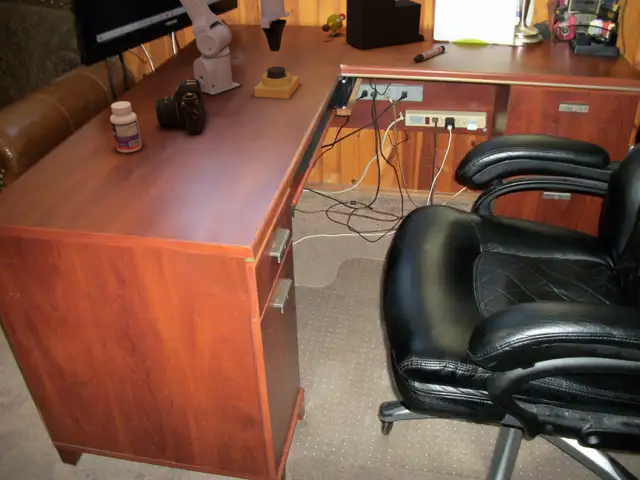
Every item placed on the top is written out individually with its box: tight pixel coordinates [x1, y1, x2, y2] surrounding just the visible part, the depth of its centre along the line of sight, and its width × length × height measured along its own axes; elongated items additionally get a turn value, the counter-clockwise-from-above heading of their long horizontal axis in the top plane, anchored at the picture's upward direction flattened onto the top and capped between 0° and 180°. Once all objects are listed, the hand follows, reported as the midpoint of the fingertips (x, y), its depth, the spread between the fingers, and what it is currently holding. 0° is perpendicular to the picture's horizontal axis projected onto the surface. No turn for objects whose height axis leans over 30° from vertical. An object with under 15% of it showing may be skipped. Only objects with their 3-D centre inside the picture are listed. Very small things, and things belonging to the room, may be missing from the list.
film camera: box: [154, 77, 205, 135], centre depth 141 cm, size 18×12×10 cm
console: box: [253, 71, 300, 99], centre depth 161 cm, size 11×9×4 cm
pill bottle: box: [110, 100, 143, 153], centre depth 130 cm, size 5×5×10 cm
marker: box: [413, 45, 446, 63], centre depth 184 cm, size 15×2×2 cm, turn 138°
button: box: [266, 66, 286, 79], centre depth 160 cm, size 5×5×2 cm
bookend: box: [345, 0, 425, 50], centre depth 194 cm, size 23×11×24 cm, turn 115°
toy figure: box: [321, 12, 346, 37], centre depth 206 cm, size 18×6×7 cm, turn 159°
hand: (275, 50), depth 156 cm, fingers closed
